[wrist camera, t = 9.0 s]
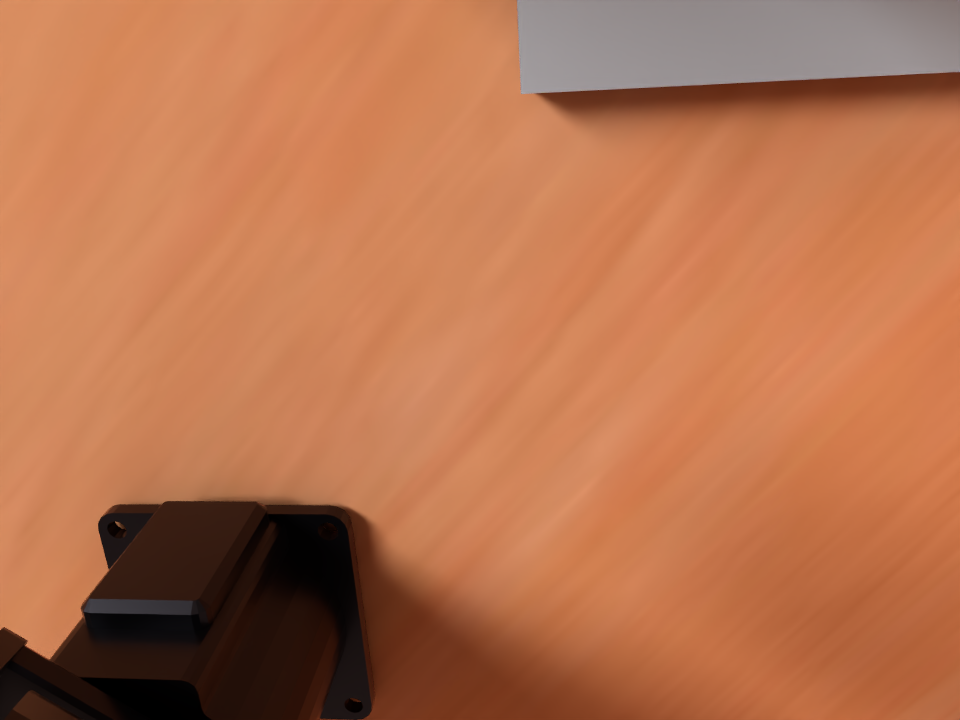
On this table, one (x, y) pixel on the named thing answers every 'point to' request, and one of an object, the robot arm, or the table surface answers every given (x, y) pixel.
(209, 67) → the table surface
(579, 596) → the table surface
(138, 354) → the table surface
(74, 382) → the table surface
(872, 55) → the plate
